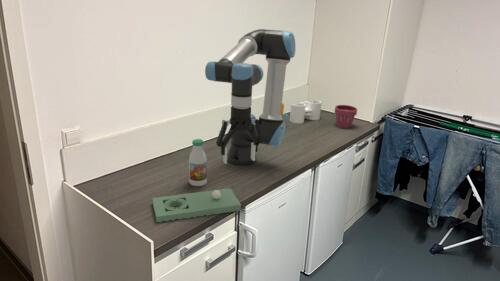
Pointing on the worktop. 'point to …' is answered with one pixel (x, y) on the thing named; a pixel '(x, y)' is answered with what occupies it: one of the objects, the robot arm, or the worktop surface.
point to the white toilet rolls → (305, 111)
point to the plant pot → (345, 115)
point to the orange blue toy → (284, 113)
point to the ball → (216, 194)
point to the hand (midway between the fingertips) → (239, 160)
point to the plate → (194, 205)
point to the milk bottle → (197, 164)
